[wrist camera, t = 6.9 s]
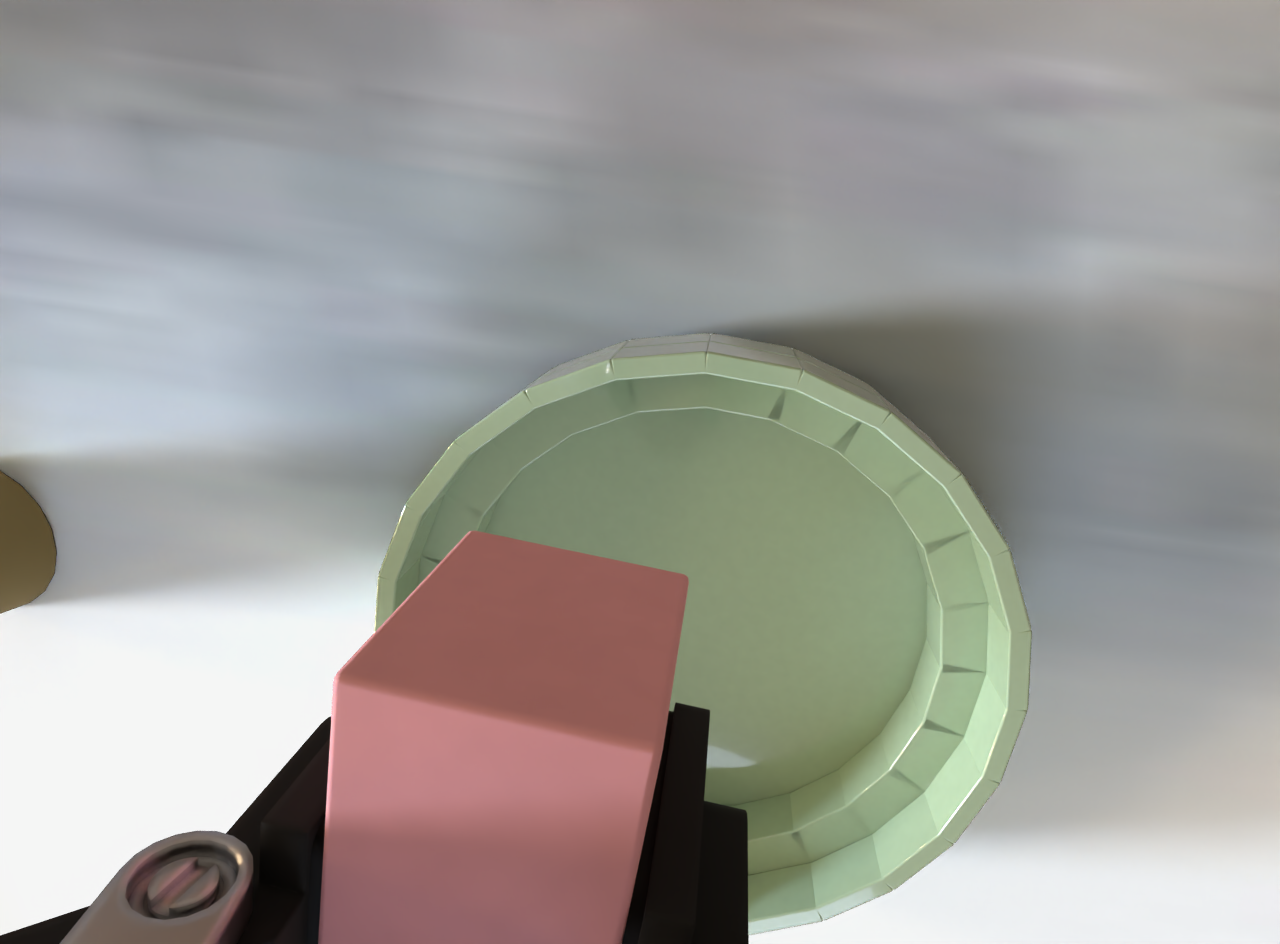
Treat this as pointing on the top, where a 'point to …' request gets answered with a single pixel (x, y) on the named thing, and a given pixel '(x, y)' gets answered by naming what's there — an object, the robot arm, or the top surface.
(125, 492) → the top surface
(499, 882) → the eraser
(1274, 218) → the top surface
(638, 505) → the bowl
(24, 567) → the cork
